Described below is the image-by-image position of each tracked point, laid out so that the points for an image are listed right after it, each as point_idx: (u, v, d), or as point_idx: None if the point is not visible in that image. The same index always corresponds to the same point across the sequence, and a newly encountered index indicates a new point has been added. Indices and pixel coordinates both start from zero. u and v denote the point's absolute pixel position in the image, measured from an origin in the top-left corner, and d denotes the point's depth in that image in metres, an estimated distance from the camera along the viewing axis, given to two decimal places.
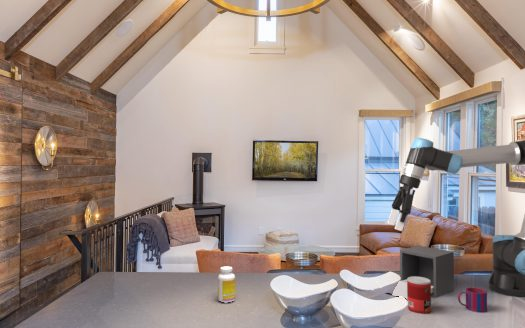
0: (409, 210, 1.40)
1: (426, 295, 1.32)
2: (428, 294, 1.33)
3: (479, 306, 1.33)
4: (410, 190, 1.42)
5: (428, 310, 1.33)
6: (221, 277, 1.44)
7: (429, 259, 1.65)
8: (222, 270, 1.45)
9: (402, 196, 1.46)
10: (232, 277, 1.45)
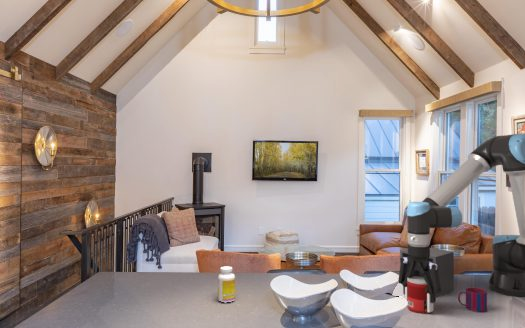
0: (439, 289, 1.31)
1: (426, 295, 1.32)
2: None
3: (479, 306, 1.33)
4: (435, 267, 1.31)
5: None
6: (221, 277, 1.44)
7: None
8: (222, 270, 1.45)
9: (423, 272, 1.33)
10: (232, 277, 1.45)
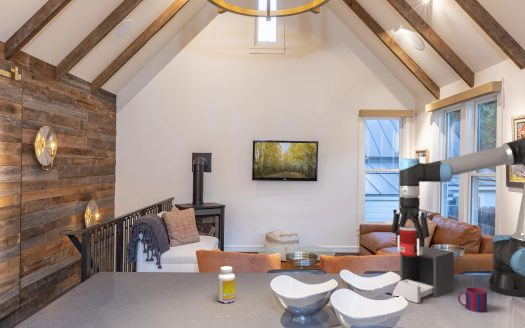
0: (428, 234, 1.47)
1: (416, 240, 1.48)
2: None
3: (479, 306, 1.33)
4: (424, 214, 1.46)
5: None
6: (221, 277, 1.44)
7: (429, 259, 1.65)
8: (222, 270, 1.45)
9: (413, 220, 1.49)
10: (232, 277, 1.45)
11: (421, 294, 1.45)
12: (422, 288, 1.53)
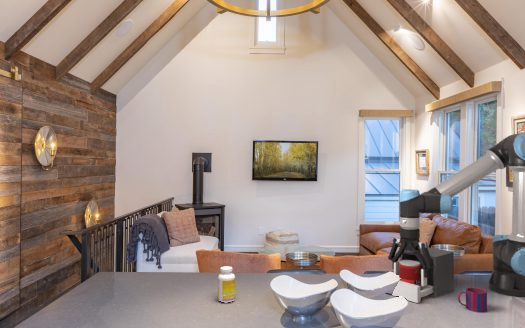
0: (432, 264, 1.45)
1: (416, 276, 1.48)
2: (418, 275, 1.49)
3: (479, 306, 1.33)
4: (424, 245, 1.46)
5: None
6: (221, 277, 1.44)
7: None
8: (222, 270, 1.45)
9: (415, 251, 1.48)
10: (232, 277, 1.45)
11: (421, 294, 1.45)
12: (422, 288, 1.53)
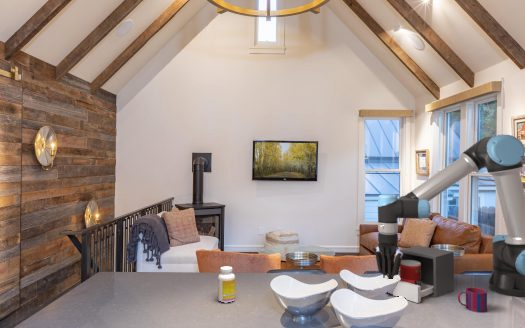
0: None
1: (417, 276, 1.48)
2: (418, 275, 1.49)
3: (479, 306, 1.33)
4: (400, 255, 1.46)
5: None
6: (221, 277, 1.44)
7: (429, 259, 1.65)
8: (222, 270, 1.45)
9: (389, 258, 1.48)
10: (232, 277, 1.45)
11: (421, 294, 1.45)
12: (422, 288, 1.53)
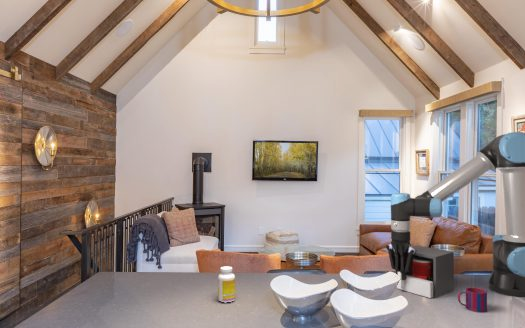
0: None
1: (429, 272, 1.53)
2: (430, 271, 1.54)
3: (479, 306, 1.33)
4: (413, 252, 1.51)
5: None
6: (221, 277, 1.44)
7: None
8: (222, 270, 1.45)
9: (401, 254, 1.54)
10: (232, 277, 1.45)
11: (433, 289, 1.50)
12: None
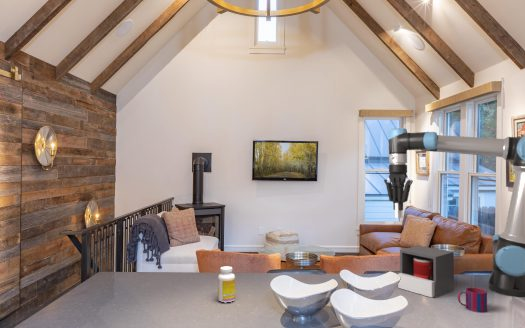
0: None
1: (430, 272, 1.54)
2: (432, 271, 1.54)
3: (479, 306, 1.33)
4: (410, 182, 1.59)
5: None
6: (221, 277, 1.44)
7: None
8: (222, 270, 1.45)
9: (399, 186, 1.62)
10: (232, 277, 1.45)
11: None
12: None
